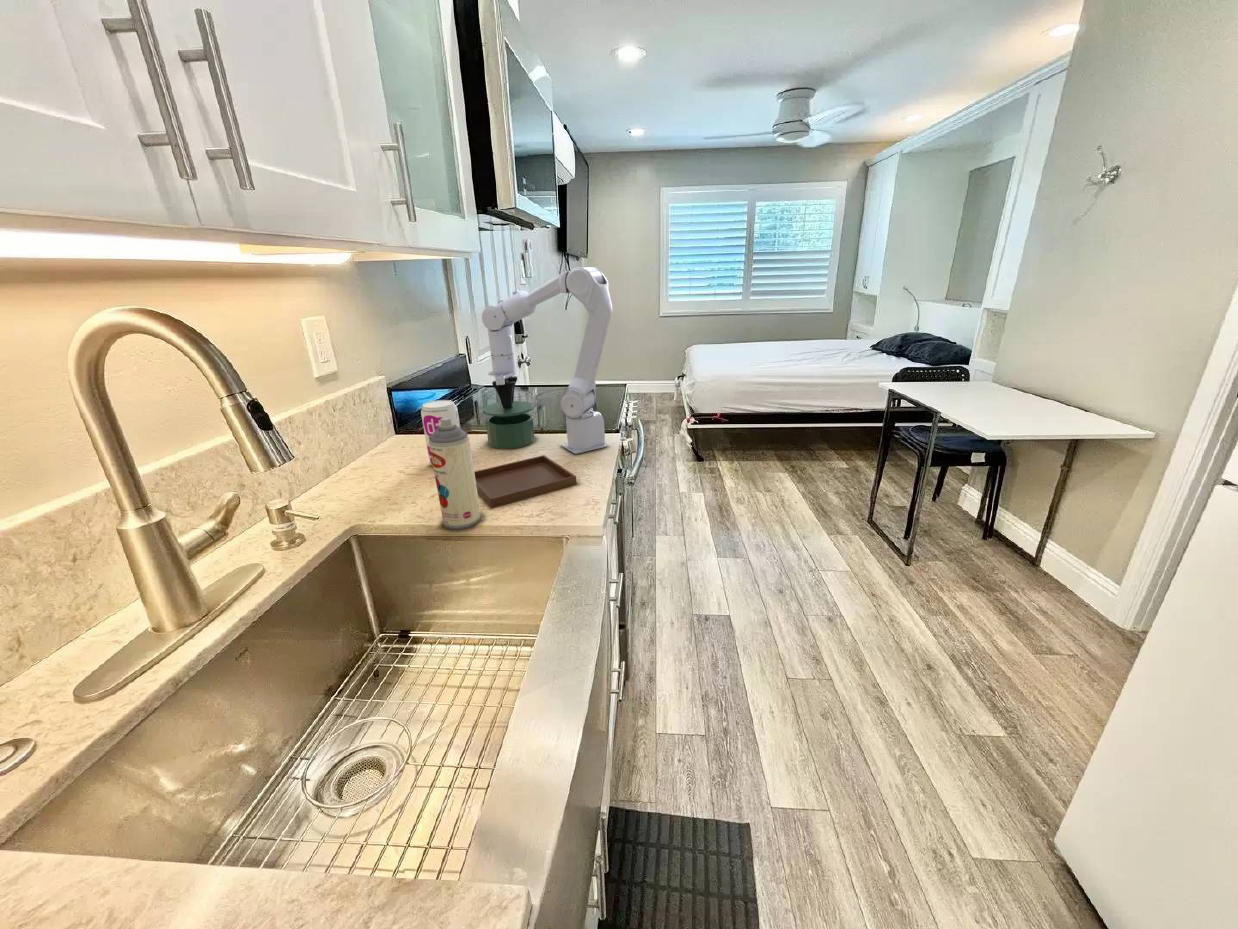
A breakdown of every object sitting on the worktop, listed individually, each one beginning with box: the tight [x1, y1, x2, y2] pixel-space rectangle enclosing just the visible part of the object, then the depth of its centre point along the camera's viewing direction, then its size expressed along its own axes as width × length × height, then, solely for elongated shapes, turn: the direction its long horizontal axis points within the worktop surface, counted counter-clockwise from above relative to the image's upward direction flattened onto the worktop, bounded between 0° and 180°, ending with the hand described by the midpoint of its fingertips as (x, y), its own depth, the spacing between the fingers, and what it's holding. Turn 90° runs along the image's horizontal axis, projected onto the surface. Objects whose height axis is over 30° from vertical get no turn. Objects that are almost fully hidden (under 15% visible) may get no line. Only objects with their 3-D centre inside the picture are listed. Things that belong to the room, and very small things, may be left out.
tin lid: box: [482, 400, 535, 417], centre depth 130 cm, size 13×13×4 cm
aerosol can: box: [429, 417, 482, 530], centre depth 89 cm, size 7×7×20 cm
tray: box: [474, 454, 578, 508], centre depth 108 cm, size 19×16×2 cm
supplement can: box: [420, 399, 461, 466], centre depth 118 cm, size 8×8×15 cm
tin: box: [485, 412, 536, 450], centre depth 134 cm, size 12×12×6 cm
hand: (508, 405), depth 131 cm, fingers closed on tin lid, 2 cm apart
